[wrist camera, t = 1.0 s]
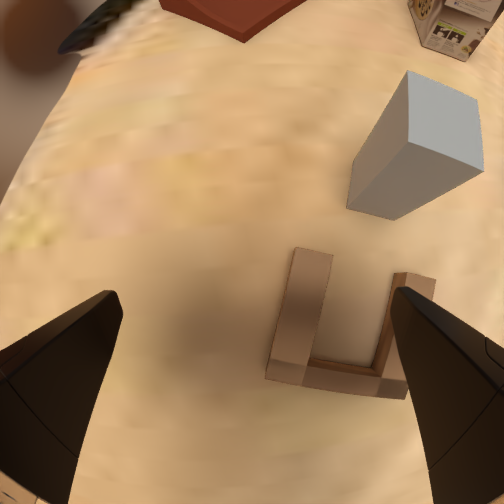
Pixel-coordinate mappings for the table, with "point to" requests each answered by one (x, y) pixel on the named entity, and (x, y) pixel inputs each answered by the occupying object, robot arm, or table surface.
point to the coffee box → (454, 24)
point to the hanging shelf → (232, 14)
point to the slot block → (304, 328)
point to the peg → (417, 149)
